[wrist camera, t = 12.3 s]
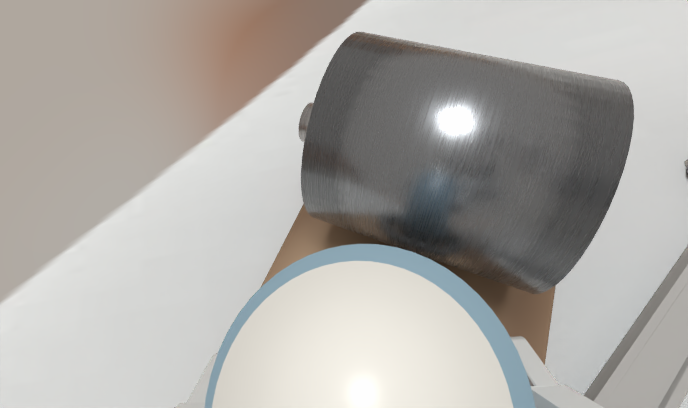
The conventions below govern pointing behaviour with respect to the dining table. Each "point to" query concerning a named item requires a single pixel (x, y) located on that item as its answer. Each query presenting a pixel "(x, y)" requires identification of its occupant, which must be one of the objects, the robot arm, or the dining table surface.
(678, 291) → the adjustable wrench
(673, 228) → the dining table surface
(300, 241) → the base plate
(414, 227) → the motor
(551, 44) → the dining table surface
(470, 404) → the blue plastic bottle
